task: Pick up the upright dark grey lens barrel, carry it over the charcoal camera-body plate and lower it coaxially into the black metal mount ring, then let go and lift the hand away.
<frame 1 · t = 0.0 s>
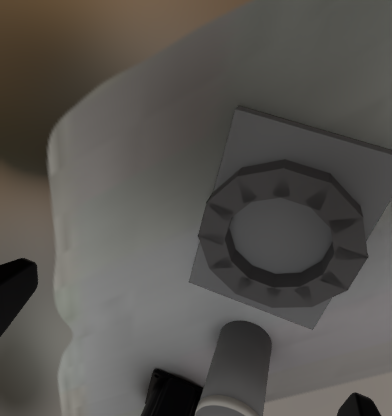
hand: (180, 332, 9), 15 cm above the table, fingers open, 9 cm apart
lens: (245, 340, 29), on the table
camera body: (280, 226, 23), on the table
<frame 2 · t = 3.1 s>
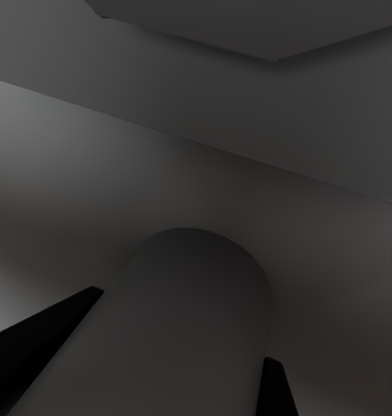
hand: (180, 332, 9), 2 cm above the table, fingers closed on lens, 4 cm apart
lens: (197, 291, 10), on the table, touching gripper
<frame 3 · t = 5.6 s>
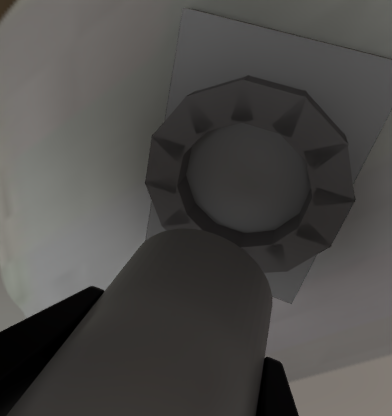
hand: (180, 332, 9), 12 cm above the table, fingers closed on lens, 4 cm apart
lens: (197, 291, 10), point 10 cm above the table, touching gripper
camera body: (248, 172, 19), on the table
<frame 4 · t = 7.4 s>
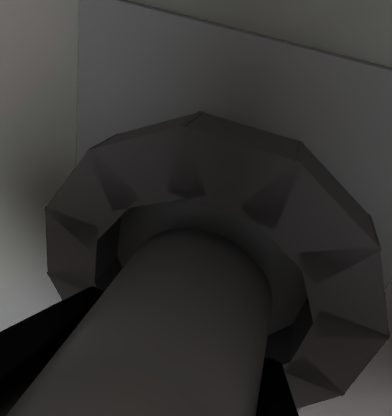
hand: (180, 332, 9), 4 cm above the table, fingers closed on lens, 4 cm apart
lens: (197, 291, 10), point 2 cm above the table, touching gripper
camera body: (214, 252, 12), on the table
when the fingers open (4 cm above the table, at t = 8.4 s): lens stays where it is, resting on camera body.
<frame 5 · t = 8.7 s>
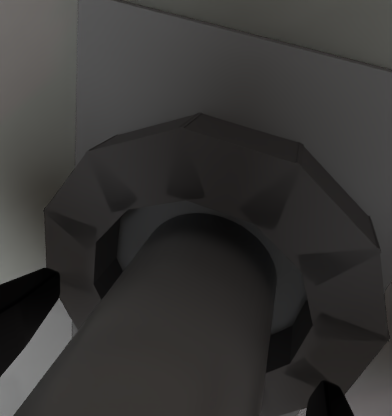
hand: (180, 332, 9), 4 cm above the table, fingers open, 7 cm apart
lens: (207, 273, 11), point 1 cm above the table, touching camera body
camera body: (213, 254, 12), on the table
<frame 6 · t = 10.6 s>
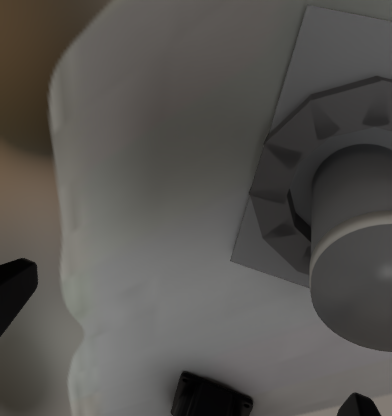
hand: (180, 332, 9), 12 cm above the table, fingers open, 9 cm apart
lens: (359, 187, 17), point 1 cm above the table, touching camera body
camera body: (356, 179, 17), on the table
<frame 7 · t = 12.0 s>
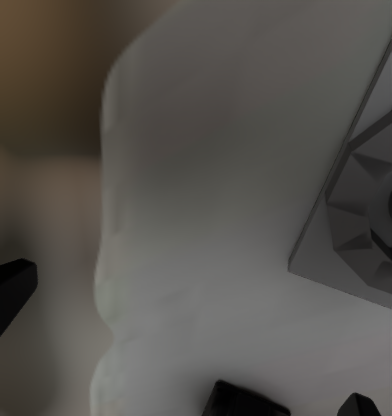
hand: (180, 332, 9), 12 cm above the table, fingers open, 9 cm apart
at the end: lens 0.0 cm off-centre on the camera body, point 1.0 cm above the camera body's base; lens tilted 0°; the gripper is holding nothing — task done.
